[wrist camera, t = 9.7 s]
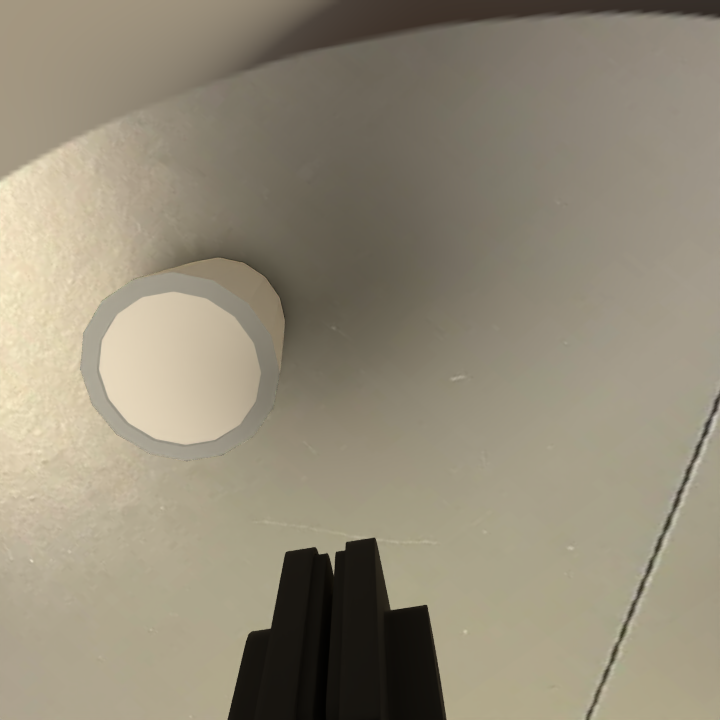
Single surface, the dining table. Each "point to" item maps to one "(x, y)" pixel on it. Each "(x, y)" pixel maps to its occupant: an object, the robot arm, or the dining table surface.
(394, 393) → the dining table surface
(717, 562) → the dining table surface
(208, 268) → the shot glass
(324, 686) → the robot arm
